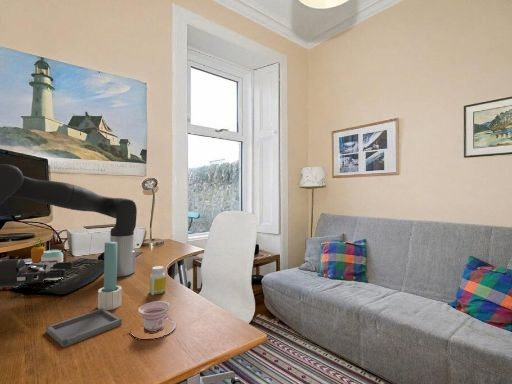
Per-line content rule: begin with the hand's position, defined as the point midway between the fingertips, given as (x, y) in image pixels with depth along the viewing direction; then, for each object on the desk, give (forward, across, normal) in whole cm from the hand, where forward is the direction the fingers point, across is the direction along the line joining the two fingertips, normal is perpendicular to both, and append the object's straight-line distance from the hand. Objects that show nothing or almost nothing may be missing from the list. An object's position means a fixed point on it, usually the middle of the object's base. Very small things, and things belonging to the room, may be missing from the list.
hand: (68, 269), depth 84 cm
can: (-13, +35, +14) cm, 39 cm away
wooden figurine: (-15, +54, +14) cm, 58 cm away
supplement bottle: (+26, +7, +13) cm, 30 cm away
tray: (+7, -13, +14) cm, 20 cm away
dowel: (+11, 0, +12) cm, 17 cm away
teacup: (+24, -18, +14) cm, 33 cm away
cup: (+11, 0, +13) cm, 18 cm away
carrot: (-21, +48, +14) cm, 54 cm away
